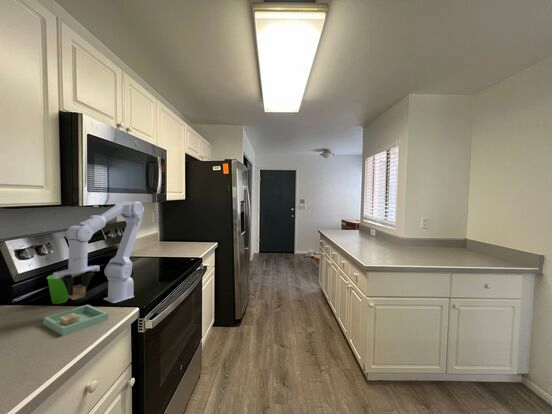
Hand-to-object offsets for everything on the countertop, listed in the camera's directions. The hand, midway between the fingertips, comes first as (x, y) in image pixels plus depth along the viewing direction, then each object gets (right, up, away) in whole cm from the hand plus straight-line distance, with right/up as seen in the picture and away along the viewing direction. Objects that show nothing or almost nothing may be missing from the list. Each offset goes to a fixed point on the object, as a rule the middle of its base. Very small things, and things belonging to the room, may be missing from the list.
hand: (77, 293), depth 101 cm
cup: (-16, -8, +12) cm, 22 cm away
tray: (+4, -9, -6) cm, 12 cm away
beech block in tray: (+5, -8, -11) cm, 15 cm away
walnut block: (0, -2, 0) cm, 2 cm away
